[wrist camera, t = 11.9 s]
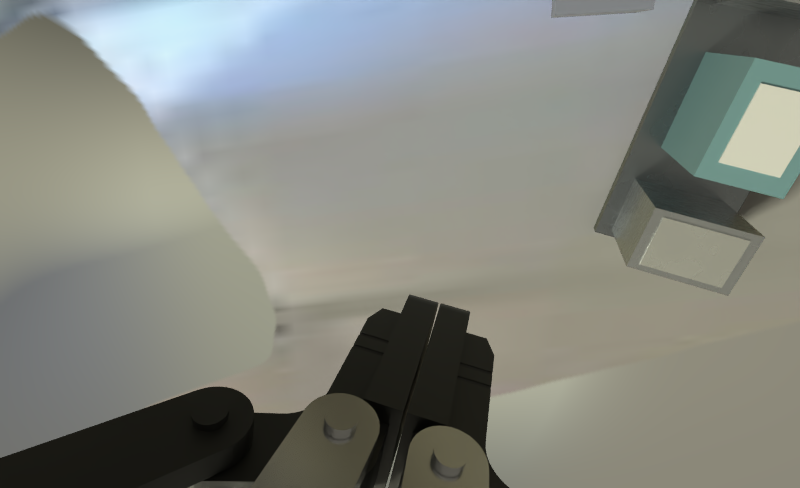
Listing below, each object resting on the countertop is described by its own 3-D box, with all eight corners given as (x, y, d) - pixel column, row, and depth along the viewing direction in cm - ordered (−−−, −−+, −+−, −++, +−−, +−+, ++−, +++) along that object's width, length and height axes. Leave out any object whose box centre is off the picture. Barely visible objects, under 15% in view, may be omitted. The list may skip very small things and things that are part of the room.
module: (705, 52, 28) (756, 57, 22) (784, 69, 27) (859, 80, 21) (660, 147, 31) (694, 176, 24) (731, 165, 30) (784, 199, 24)
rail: (733, -90, 26) (796, -127, 20) (890, -61, 25) (1007, -92, 19) (593, 227, 35) (607, 269, 29) (703, 258, 34) (741, 308, 28)
